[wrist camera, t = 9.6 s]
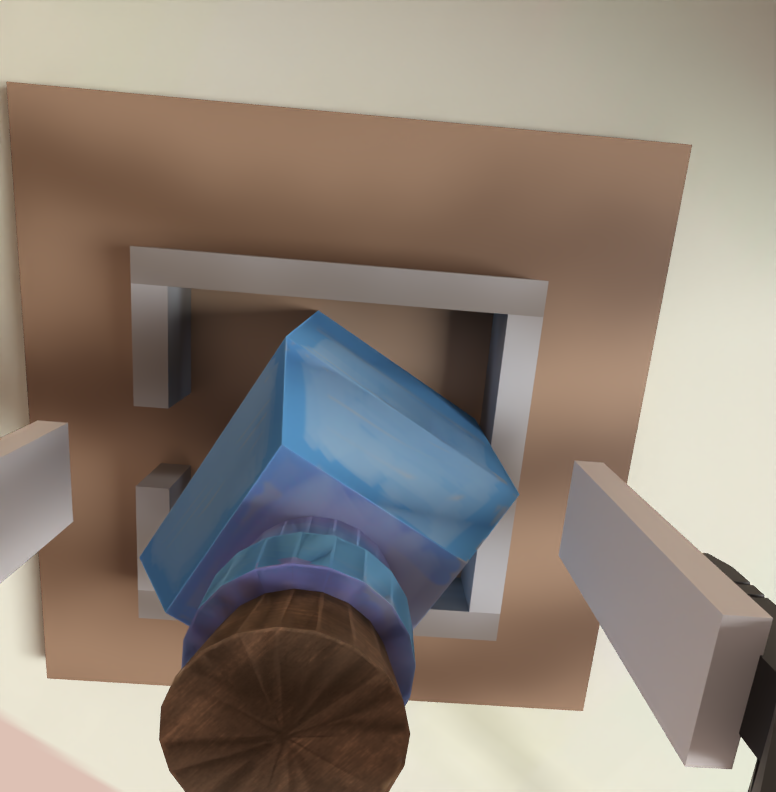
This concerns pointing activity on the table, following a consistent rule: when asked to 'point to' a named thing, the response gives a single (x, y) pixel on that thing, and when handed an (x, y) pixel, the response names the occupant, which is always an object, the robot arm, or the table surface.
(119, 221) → the pocket board
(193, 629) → the perfume bottle
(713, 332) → the table surface
